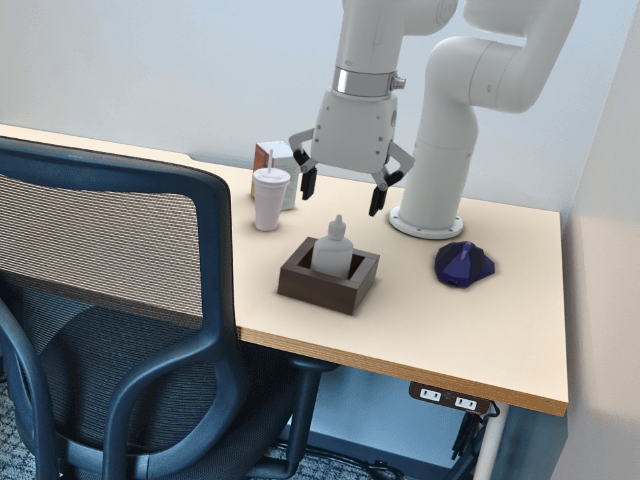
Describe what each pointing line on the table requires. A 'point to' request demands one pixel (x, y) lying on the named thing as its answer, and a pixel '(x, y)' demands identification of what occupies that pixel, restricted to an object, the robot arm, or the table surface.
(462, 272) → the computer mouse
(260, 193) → the smoothie
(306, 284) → the holder
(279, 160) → the small box
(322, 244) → the eye dropper bottle
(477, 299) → the table surface
